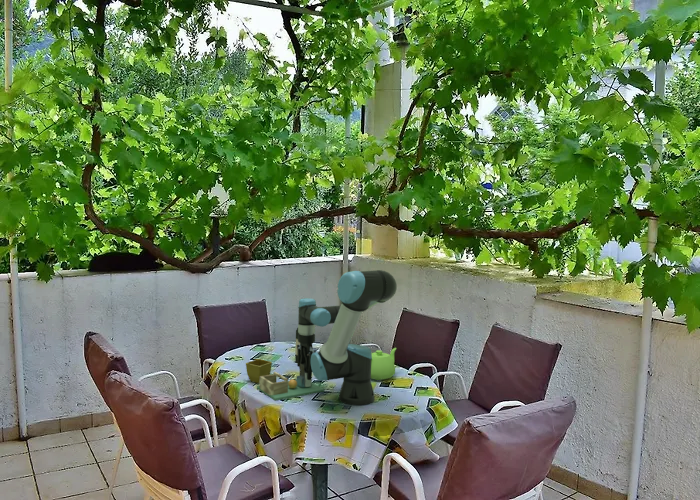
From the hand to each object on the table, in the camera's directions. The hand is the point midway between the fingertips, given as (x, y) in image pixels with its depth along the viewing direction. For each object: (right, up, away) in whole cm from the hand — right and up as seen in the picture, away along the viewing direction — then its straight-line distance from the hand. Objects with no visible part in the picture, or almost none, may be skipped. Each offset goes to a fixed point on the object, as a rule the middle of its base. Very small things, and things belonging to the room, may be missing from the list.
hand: (305, 384), depth 265 cm
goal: (-14, -2, -6) cm, 15 cm away
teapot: (+34, -1, +21) cm, 40 cm away
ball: (-5, +1, -4) cm, 7 cm away
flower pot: (-22, -1, +8) cm, 24 cm away
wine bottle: (-4, +2, +43) cm, 43 cm away
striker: (-1, 0, 0) cm, 1 cm away
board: (-6, -2, -3) cm, 7 cm away
